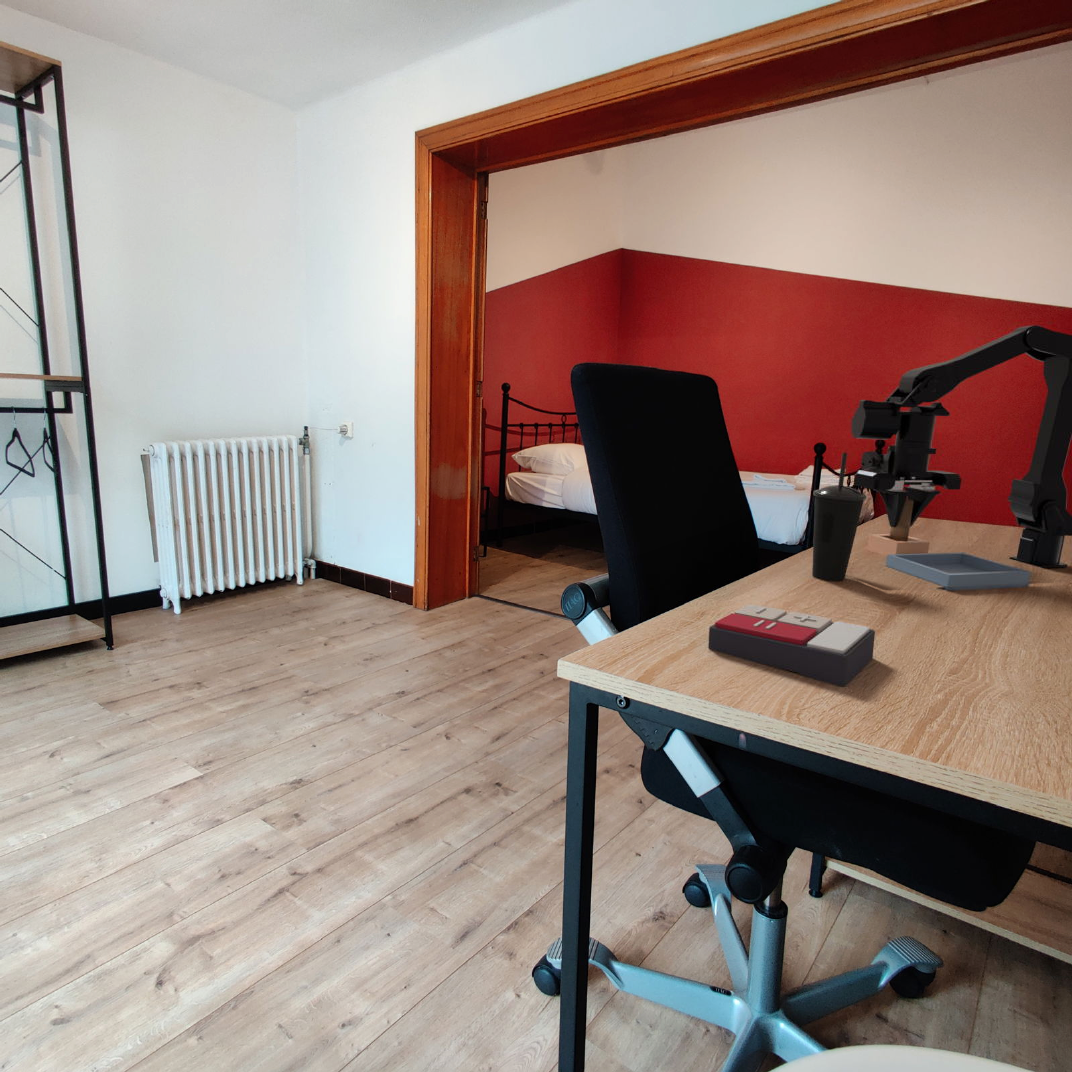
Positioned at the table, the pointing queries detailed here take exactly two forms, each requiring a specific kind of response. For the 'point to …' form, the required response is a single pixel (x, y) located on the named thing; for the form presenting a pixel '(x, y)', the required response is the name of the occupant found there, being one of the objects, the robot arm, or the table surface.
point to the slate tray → (959, 571)
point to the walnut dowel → (903, 523)
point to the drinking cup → (835, 527)
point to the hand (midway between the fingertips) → (900, 526)
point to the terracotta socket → (896, 545)
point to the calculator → (795, 642)
